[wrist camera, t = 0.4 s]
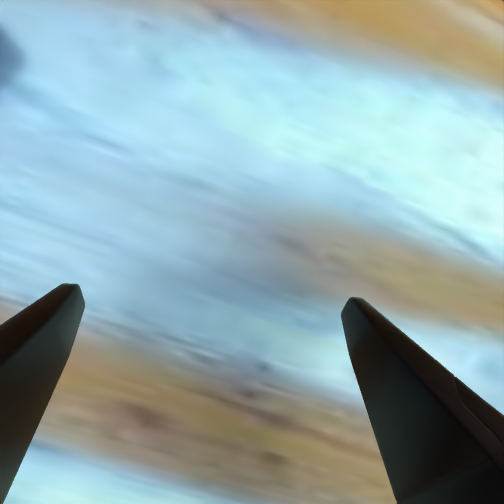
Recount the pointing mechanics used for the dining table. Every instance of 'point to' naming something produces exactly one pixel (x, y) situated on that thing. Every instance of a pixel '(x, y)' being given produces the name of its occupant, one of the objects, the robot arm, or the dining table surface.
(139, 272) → the dining table surface
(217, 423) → the dining table surface
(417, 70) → the dining table surface
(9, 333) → the robot arm
